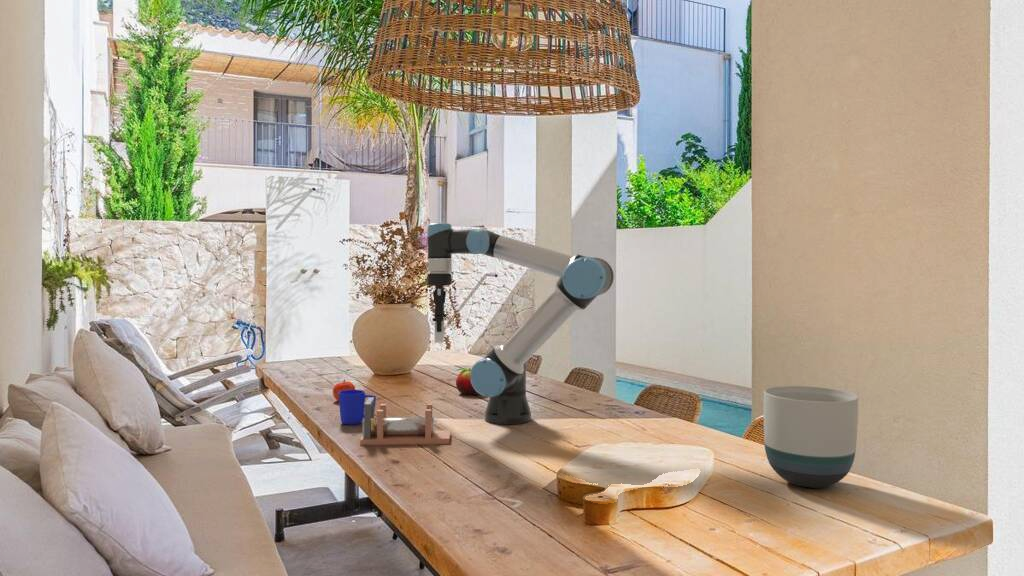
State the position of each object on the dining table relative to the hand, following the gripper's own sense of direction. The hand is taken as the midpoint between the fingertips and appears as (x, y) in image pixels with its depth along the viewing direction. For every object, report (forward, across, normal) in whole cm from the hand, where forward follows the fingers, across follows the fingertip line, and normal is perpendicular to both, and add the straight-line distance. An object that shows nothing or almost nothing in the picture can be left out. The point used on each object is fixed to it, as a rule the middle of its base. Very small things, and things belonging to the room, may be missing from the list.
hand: (439, 340), depth 232 cm
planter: (+27, +67, +88) cm, 114 cm away
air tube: (+25, +19, -11) cm, 33 cm away
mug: (+27, -2, -26) cm, 37 cm away
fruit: (+27, -51, +10) cm, 59 cm away
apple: (+27, -39, -36) cm, 60 cm away
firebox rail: (+27, +20, -9) cm, 34 cm away
